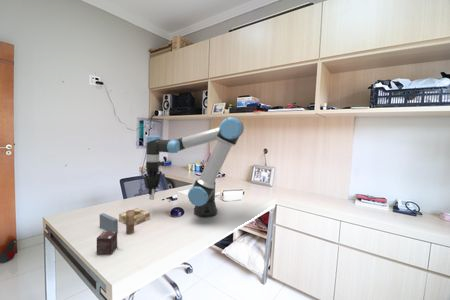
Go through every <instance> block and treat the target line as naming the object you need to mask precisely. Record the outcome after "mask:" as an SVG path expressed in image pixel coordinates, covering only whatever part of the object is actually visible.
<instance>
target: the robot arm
mask: <svg viewBox="0 0 450 300" xmlns="http://www.w3.org/2000/svg"><path fill="white" fill-rule="evenodd" d="M244 127H245V126H244V125H243V122H242V121H241V120H240V119H238V118H236V117H234V116H230V117H229V116H228V117H226V118H224V119H223V120H222V121H221V123H220V124H219V126H218V127H215V128H211V129H207V130H204V131H202V132H197V133H193V134H191V135H188V136H184V137H179V138H177V139H176V138H175V139H161V137H160V136H159V135H148V136H147V137H146V153H145V160H146V162H145V167H146V169H145V172H144V173H142V174H141V175H142V178H143V181H144V186H145V189H147V190H148V195H149V196H148V199H149V200H151V201H153V200H155V194H156V189H157V188H158V187H159V184H160V181H161V180H160V179H161V175H162V173H163V172H162V171H160V169H159V167H160V153H167V154H168V153H169V154H177V153H179V152H181V151H184V150H186V149H190V148H193V147H197V146H200V145H201V146H202V145H204V144H205V145H206V144H208V143H211V142H215V141H216V142H215V145H214V147H213V149H212V151H211V153H210V156H209V157H208V160H207V162H206V164H205V166H204V169H203V170H202V173H201V174H200V176H199V177H197V178H196V179H195V181H194V183H193V185H192V187H191V188H190V189H189V190H188V193H187V198H188V200H189V202H190V203H191V204H192V205H194V208H193V214H194V215H195V216H197V217H199V218H200V217H202V218H209V217H214V216H216V215H217V214H218V208H217V204H216V184H217V183H216V180H217V177H218V176H219V174H220V171H221V169H222V167H223V165H224V162H225V161H226V159H227V156H228V155H229V152H230V150H231V148H232V147H234V146H236V144H237V142H238V140H239V138H240V137H241V136H242V134H243V133H244V129H245V128H244Z"/></svg>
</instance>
